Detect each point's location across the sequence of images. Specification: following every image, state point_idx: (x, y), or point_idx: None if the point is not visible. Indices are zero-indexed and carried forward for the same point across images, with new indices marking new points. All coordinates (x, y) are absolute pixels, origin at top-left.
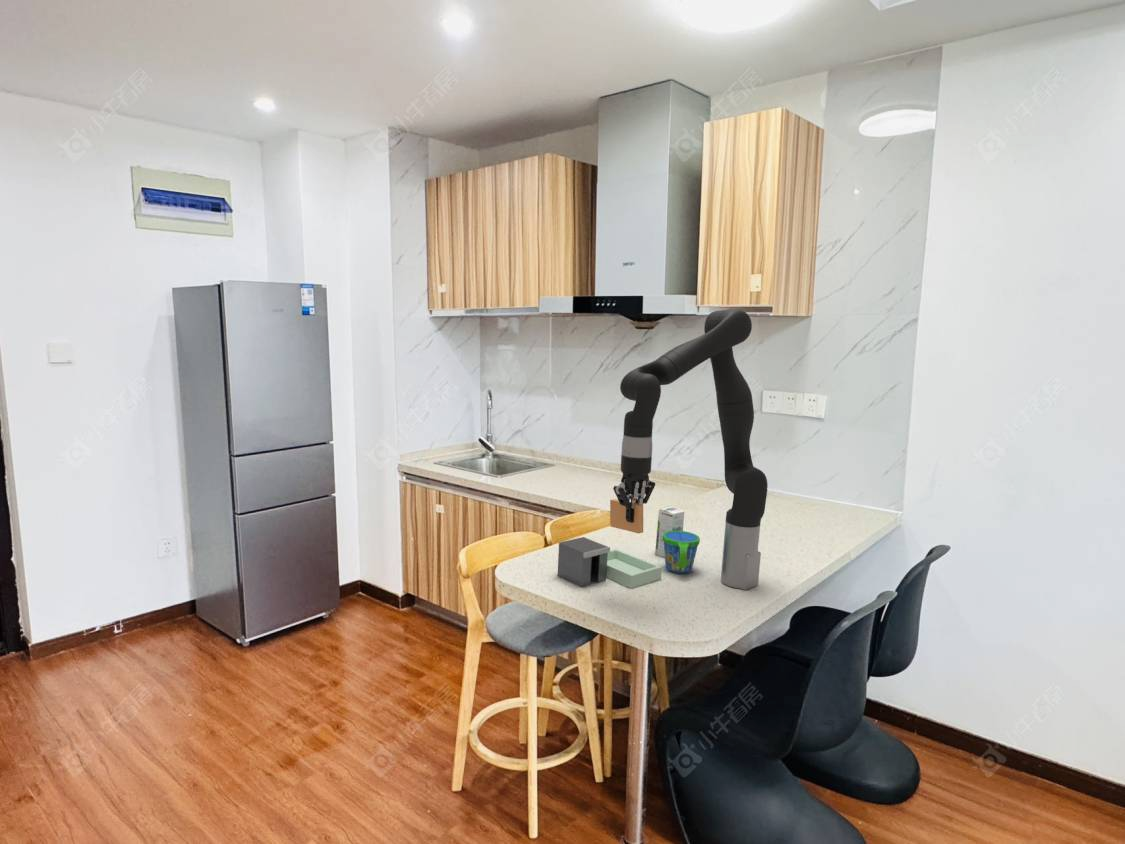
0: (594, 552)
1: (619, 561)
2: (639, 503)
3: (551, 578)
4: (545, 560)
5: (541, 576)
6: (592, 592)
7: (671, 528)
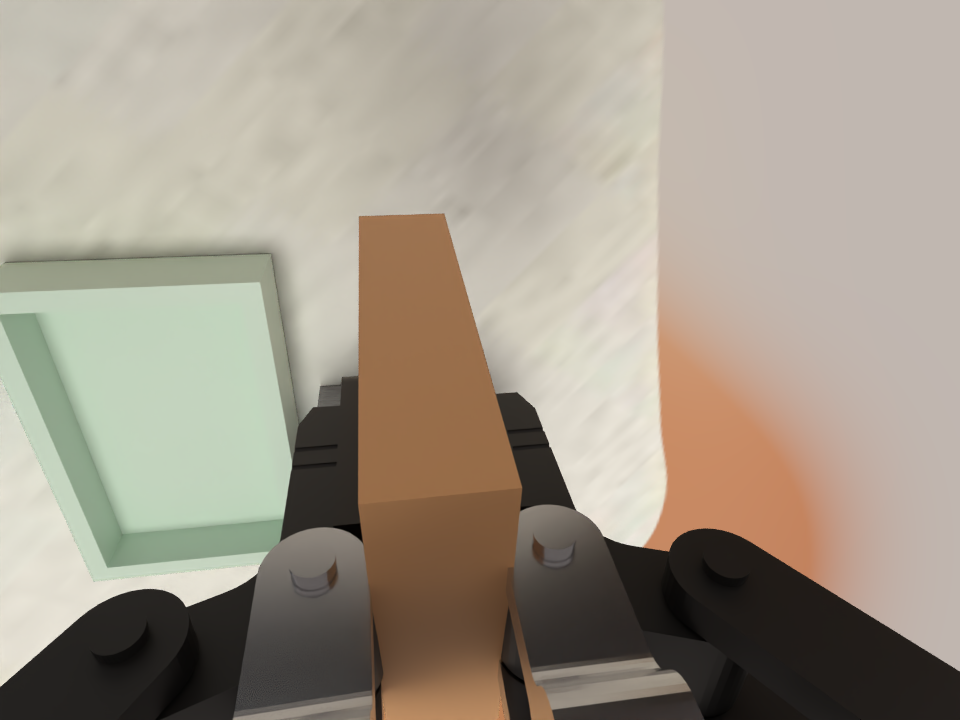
0: None
1: (125, 502)
2: (370, 592)
3: None
4: None
5: None
6: (476, 313)
7: None
